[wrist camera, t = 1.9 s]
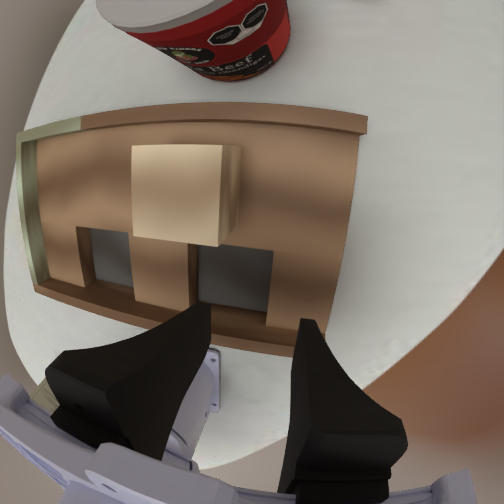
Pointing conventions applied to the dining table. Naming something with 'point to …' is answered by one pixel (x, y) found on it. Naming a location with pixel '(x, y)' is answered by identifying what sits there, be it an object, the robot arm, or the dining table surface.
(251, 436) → the dining table surface
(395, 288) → the dining table surface
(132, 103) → the dining table surface
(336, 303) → the dining table surface
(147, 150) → the maple block
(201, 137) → the walnut tray
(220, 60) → the canned food
